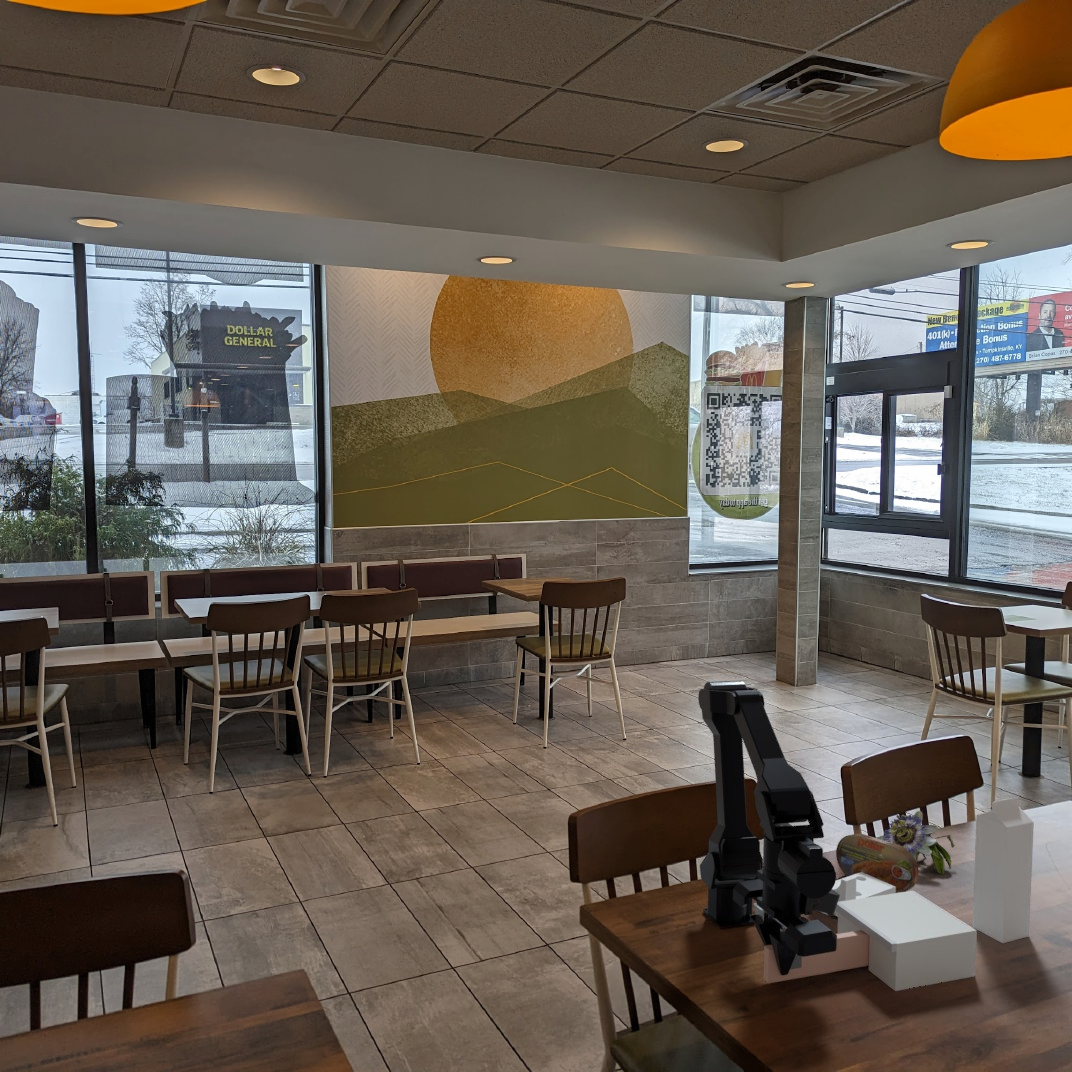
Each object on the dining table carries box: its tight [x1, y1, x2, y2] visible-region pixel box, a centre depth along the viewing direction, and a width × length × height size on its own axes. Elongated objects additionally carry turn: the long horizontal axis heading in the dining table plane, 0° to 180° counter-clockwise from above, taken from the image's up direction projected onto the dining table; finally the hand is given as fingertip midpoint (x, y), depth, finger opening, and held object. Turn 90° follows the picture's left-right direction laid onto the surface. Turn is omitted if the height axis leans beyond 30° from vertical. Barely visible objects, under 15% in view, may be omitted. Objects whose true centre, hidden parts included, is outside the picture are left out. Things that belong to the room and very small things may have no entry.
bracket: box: [818, 872, 896, 918], centre depth 164 cm, size 13×7×8 cm, turn 123°
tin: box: [835, 833, 919, 893], centre depth 172 cm, size 15×3×8 cm, turn 41°
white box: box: [835, 890, 978, 992], centre depth 146 cm, size 15×14×7 cm
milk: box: [971, 796, 1034, 944], centre depth 154 cm, size 6×6×22 cm
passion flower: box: [876, 810, 956, 875], centre depth 182 cm, size 11×11×12 cm
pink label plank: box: [763, 930, 870, 984], centre depth 142 cm, size 22×1×5 cm, turn 107°
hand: (781, 971), depth 140 cm, fingers closed on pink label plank
